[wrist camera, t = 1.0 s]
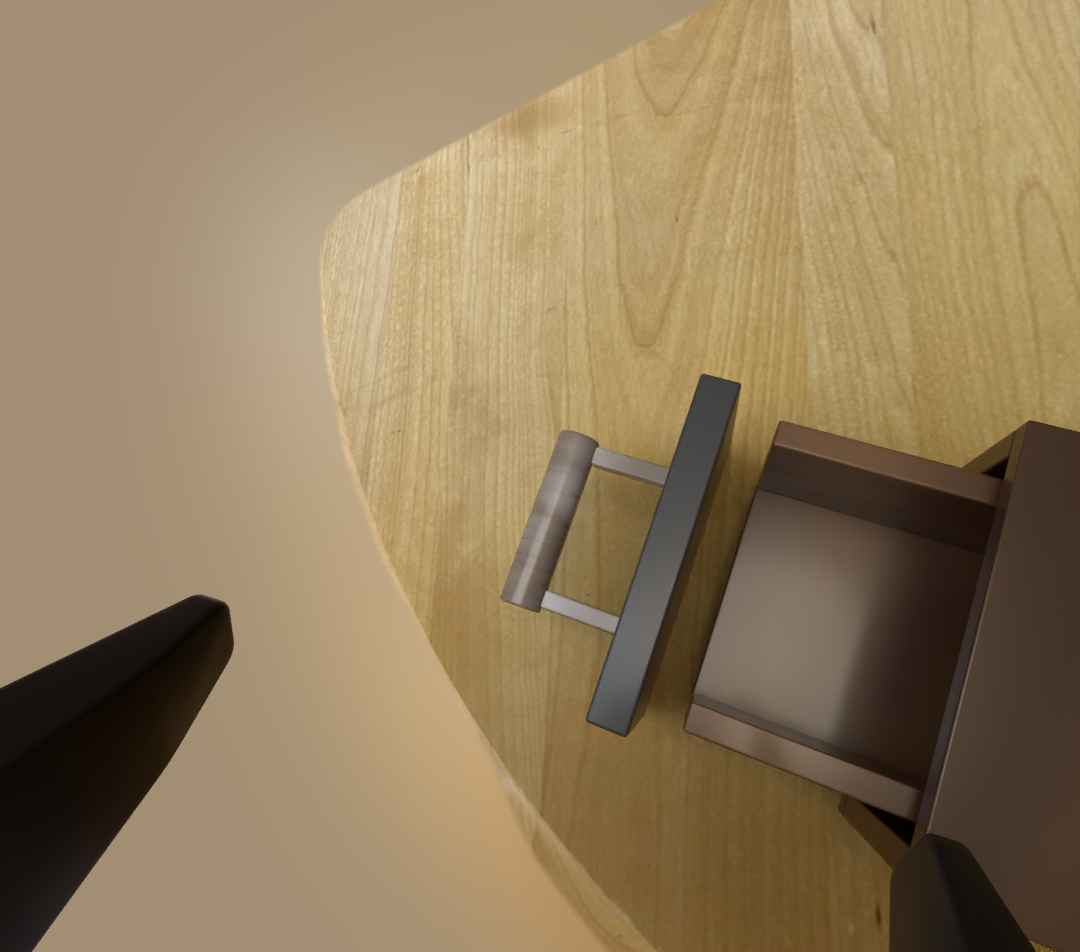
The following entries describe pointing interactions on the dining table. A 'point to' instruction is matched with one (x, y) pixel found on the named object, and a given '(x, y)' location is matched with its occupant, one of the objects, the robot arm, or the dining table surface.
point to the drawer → (788, 597)
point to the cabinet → (1014, 700)
